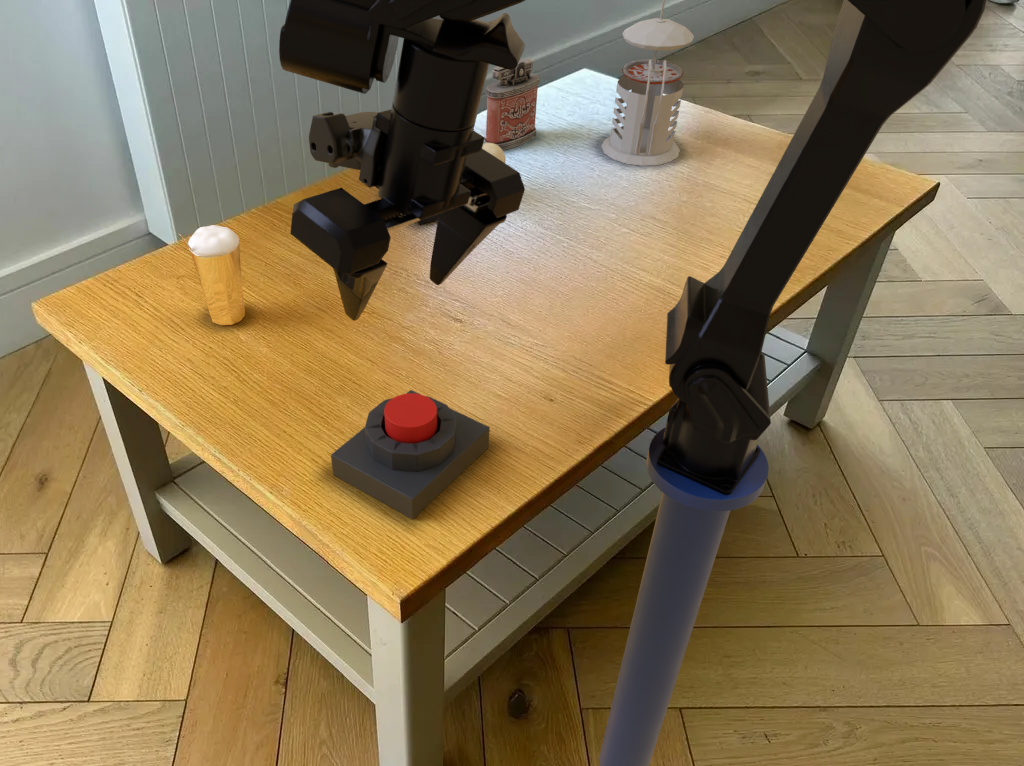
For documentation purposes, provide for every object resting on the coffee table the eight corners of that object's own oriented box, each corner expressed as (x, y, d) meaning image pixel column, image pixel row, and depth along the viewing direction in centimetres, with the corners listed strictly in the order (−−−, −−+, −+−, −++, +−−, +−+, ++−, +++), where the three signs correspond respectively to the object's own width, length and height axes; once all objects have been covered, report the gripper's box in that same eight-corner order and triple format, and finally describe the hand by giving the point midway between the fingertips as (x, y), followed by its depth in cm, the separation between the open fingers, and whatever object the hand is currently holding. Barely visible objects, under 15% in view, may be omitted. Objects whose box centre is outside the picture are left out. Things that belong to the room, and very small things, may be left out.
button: (447, 423, 69) (447, 406, 68) (415, 451, 67) (415, 434, 66) (406, 403, 71) (406, 386, 70) (374, 430, 69) (373, 413, 68)
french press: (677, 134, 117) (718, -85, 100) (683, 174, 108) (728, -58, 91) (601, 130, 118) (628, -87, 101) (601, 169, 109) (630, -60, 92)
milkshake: (188, 318, 87) (166, 224, 80) (235, 298, 89) (219, 205, 82) (211, 338, 84) (191, 243, 77) (260, 317, 87) (245, 223, 80)
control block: (489, 447, 73) (490, 409, 70) (413, 520, 67) (411, 481, 64) (411, 409, 76) (410, 372, 74) (332, 475, 70) (328, 437, 68)
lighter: (523, 128, 118) (528, 49, 112) (541, 136, 117) (547, 57, 110) (478, 145, 115) (480, 65, 108) (496, 154, 113) (499, 73, 106)
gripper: (446, 42, 69) (409, 219, 80) (247, 80, 58) (236, 279, 69) (554, 107, 64) (499, 285, 75) (361, 162, 53) (330, 361, 64)
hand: (394, 299), depth 71 cm, fingers open, 9 cm apart
